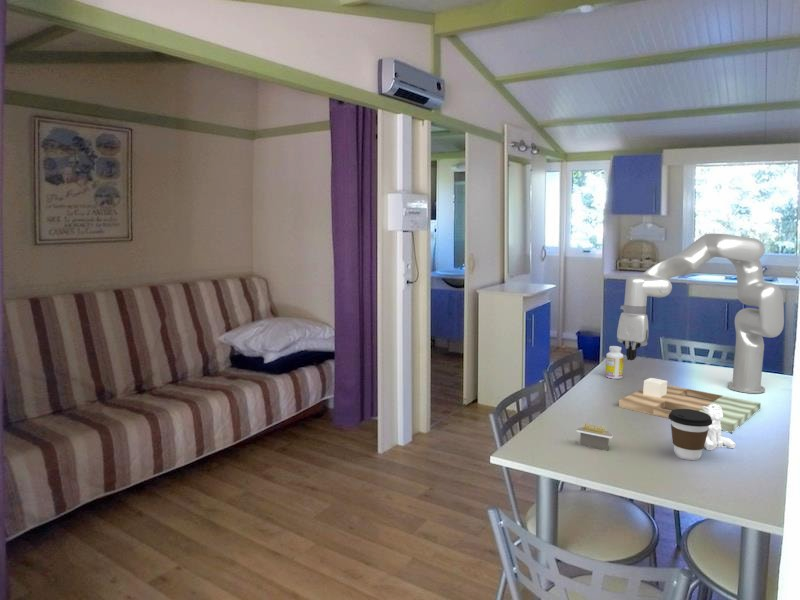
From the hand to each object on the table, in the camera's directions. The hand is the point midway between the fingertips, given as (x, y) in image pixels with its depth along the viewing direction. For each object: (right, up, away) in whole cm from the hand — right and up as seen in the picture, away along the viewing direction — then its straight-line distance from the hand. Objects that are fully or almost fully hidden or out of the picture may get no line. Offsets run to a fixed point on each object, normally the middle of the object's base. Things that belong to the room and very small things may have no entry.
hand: (630, 359), depth 223 cm
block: (+7, -12, -5) cm, 15 cm away
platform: (-29, -21, -48) cm, 60 cm away
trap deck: (+15, -16, -13) cm, 25 cm away
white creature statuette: (+6, -21, -46) cm, 51 cm away
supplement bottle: (+4, -10, +28) cm, 30 cm away
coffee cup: (-5, -22, -55) cm, 59 cm away
